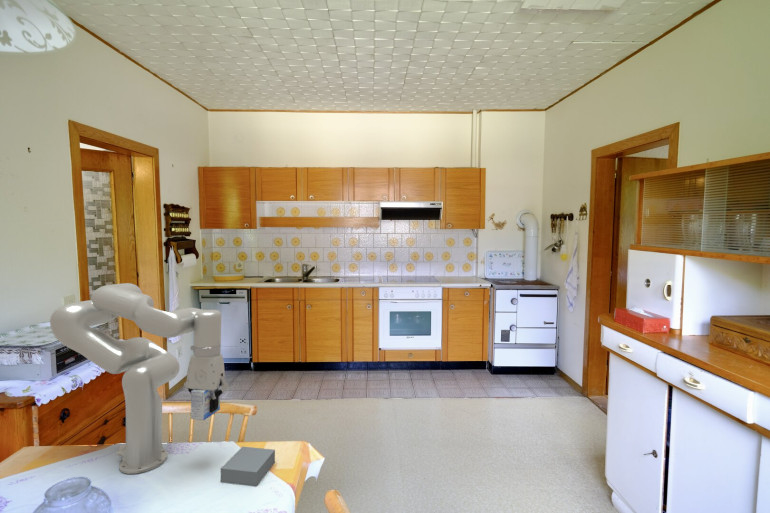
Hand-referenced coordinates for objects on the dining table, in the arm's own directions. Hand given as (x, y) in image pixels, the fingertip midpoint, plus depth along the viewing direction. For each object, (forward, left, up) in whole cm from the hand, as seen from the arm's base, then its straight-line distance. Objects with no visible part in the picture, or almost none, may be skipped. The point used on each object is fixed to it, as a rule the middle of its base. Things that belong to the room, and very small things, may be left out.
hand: (205, 409), depth 113 cm
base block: (+14, 0, -18) cm, 23 cm away
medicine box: (0, 0, -2) cm, 2 cm away
